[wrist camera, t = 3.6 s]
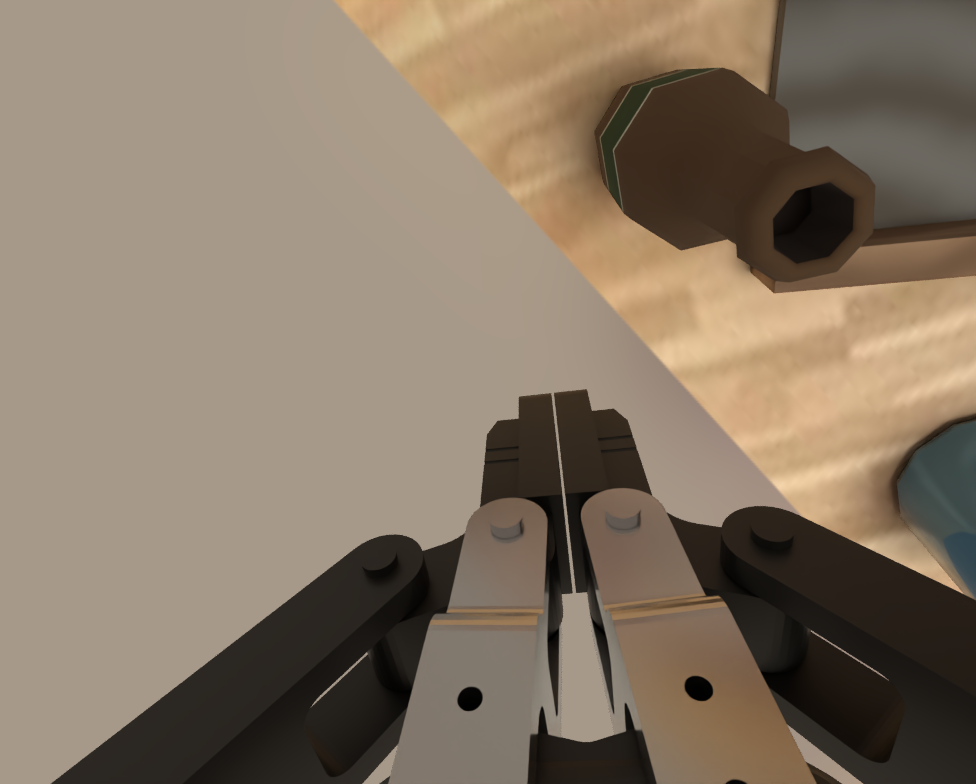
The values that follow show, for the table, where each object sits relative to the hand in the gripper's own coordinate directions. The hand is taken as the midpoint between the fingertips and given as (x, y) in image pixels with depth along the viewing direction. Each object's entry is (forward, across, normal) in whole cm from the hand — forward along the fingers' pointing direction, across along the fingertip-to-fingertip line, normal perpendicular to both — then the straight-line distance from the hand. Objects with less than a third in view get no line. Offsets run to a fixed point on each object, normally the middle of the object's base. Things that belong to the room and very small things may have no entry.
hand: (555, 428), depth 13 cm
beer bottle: (+29, -8, -3) cm, 31 cm away
